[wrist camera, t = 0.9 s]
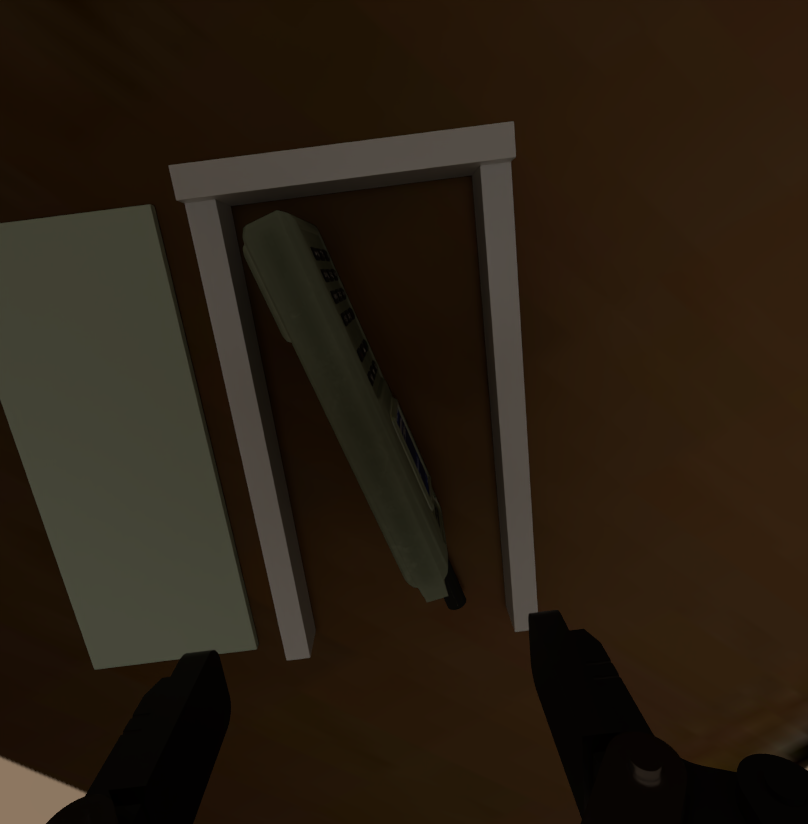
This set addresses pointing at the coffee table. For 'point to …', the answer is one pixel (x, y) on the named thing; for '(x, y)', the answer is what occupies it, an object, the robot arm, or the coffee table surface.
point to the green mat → (117, 437)
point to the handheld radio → (353, 396)
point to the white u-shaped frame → (240, 356)
